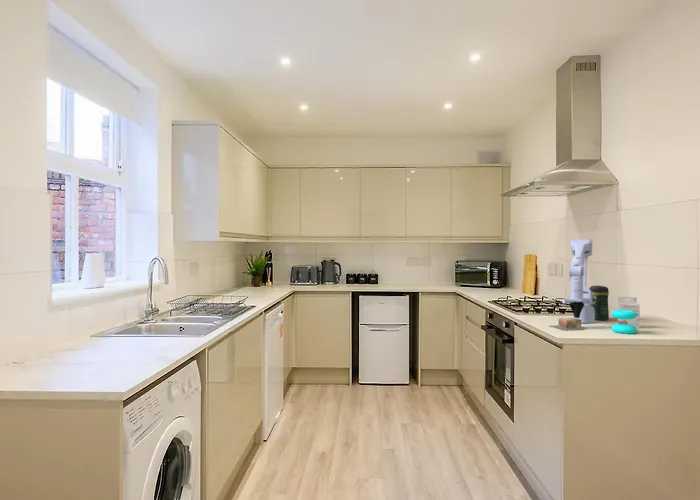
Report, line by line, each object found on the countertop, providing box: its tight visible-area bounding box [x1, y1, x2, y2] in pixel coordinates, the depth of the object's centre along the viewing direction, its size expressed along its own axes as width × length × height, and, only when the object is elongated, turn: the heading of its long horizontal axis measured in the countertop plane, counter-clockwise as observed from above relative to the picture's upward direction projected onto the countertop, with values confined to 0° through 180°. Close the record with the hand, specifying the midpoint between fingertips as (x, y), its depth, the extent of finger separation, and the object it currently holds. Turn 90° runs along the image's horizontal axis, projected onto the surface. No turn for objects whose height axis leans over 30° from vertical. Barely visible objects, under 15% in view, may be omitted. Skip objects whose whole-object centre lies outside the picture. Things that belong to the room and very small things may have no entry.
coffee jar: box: [588, 285, 610, 321], centre depth 241 cm, size 10×8×19 cm
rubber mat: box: [549, 324, 584, 331], centre depth 215 cm, size 10×12×1 cm
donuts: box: [611, 309, 638, 335], centre depth 203 cm, size 10×10×10 cm
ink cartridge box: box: [617, 296, 641, 329], centre depth 217 cm, size 9×5×15 cm, turn 71°
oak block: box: [558, 317, 582, 329], centre depth 215 cm, size 4×6×8 cm
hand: (576, 317), depth 216 cm, fingers closed
